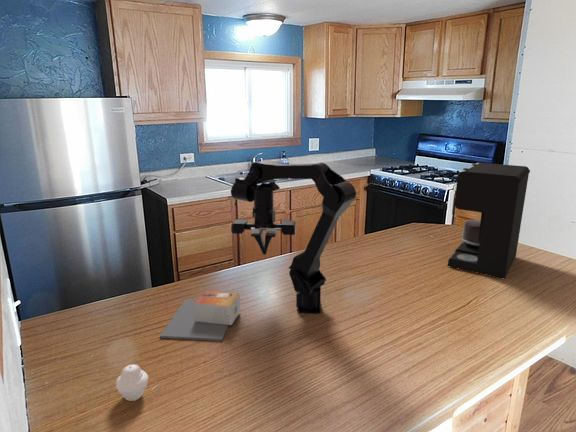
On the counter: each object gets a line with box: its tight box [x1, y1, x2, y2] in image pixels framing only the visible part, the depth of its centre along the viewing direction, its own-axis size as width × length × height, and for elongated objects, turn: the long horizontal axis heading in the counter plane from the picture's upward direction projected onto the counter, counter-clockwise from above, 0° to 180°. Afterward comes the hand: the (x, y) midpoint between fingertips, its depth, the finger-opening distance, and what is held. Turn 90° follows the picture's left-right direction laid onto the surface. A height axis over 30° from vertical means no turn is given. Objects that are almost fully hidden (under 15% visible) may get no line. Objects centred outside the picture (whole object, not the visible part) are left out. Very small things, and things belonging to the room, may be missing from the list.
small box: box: [194, 290, 241, 326], centre depth 113 cm, size 8×6×10 cm
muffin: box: [115, 364, 149, 402], centre depth 83 cm, size 6×6×7 cm
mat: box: [159, 298, 230, 342], centre depth 113 cm, size 16×20×1 cm
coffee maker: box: [447, 162, 531, 280], centre depth 149 cm, size 28×20×35 cm
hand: (264, 254), depth 125 cm, fingers closed
